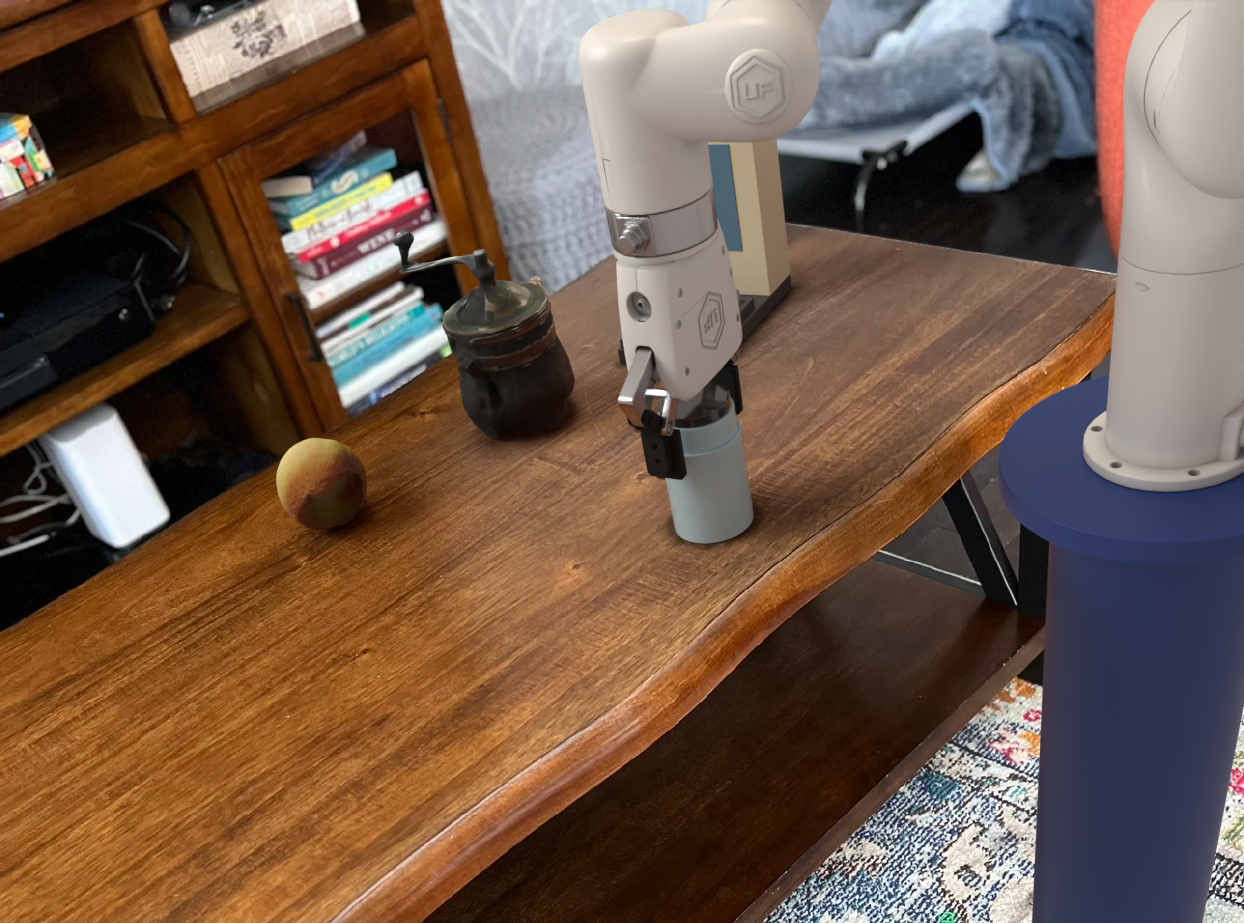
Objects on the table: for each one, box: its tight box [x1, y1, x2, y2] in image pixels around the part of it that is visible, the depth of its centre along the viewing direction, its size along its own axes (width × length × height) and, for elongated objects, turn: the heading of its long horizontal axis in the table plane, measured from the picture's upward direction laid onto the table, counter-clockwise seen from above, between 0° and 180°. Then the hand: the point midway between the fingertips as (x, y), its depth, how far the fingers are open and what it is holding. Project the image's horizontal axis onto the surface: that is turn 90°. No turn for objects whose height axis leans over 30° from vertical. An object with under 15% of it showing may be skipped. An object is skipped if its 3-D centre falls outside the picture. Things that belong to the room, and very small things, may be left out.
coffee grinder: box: [392, 229, 576, 440], centre depth 119 cm, size 13×15×18 cm
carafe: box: [656, 382, 755, 545], centre depth 103 cm, size 7×8×11 cm
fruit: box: [275, 437, 368, 532], centre depth 115 cm, size 8×8×8 cm
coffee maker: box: [617, 137, 793, 364], centre depth 124 cm, size 18×11×20 cm, turn 150°
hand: (696, 443), depth 101 cm, fingers open, 9 cm apart
